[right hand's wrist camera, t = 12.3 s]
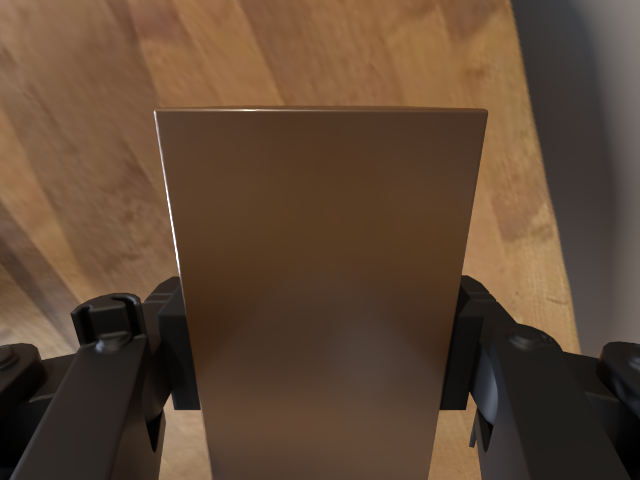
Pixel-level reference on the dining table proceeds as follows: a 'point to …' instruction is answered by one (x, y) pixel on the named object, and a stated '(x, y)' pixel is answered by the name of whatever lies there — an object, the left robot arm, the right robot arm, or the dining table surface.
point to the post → (320, 279)
